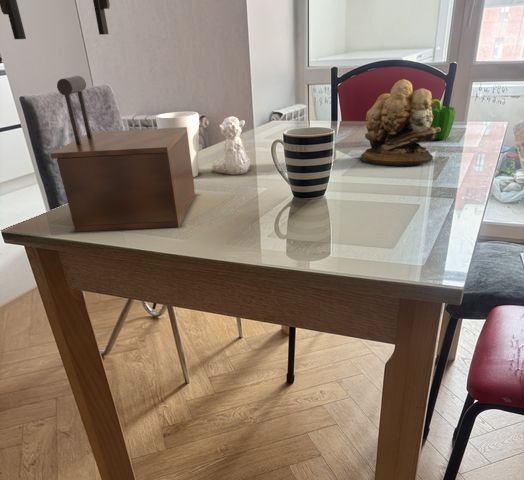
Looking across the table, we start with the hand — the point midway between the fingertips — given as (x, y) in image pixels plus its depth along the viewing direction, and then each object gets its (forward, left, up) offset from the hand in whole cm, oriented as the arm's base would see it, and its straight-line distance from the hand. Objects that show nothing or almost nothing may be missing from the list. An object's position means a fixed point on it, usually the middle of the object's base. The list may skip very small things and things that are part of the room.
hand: (62, 37), depth 81 cm
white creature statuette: (+24, +28, -29) cm, 47 cm away
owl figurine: (+62, +31, -29) cm, 75 cm away
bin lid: (+7, -1, -16) cm, 18 cm away
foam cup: (+12, +27, -29) cm, 41 cm away
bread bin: (+8, -1, -28) cm, 29 cm away
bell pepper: (+77, +55, -29) cm, 99 cm away
